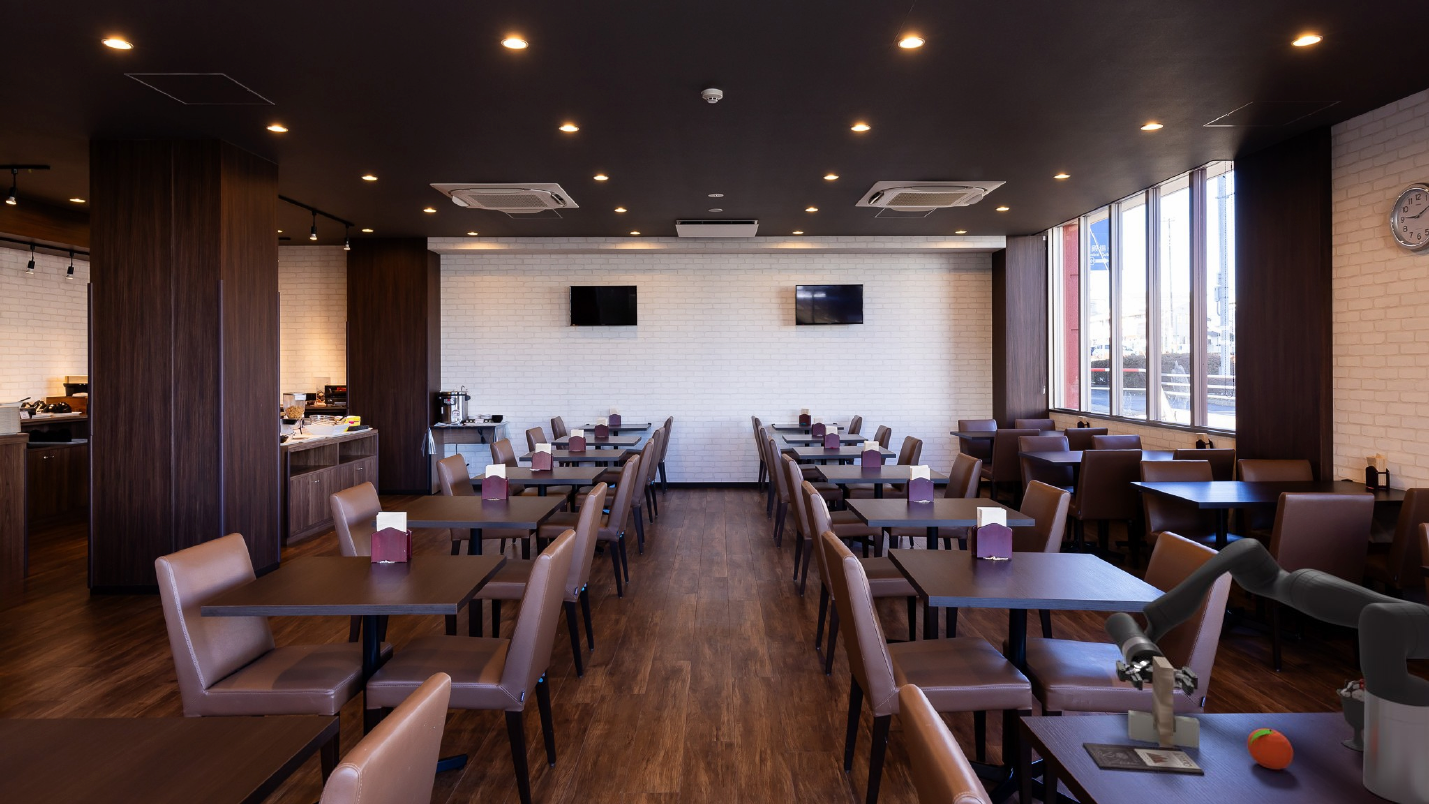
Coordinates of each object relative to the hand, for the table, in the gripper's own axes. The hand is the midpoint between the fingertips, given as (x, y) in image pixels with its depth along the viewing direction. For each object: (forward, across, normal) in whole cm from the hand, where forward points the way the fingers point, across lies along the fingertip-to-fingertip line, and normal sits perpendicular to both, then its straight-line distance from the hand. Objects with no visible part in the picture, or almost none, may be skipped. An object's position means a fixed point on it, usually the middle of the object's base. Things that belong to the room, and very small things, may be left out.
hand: (1164, 688), depth 146 cm
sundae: (-10, -36, -11) cm, 39 cm away
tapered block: (-1, 0, -11) cm, 11 cm away
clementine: (+5, -16, -11) cm, 20 cm away
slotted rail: (-1, 0, -11) cm, 11 cm away
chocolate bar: (+8, +6, -12) cm, 16 cm away
